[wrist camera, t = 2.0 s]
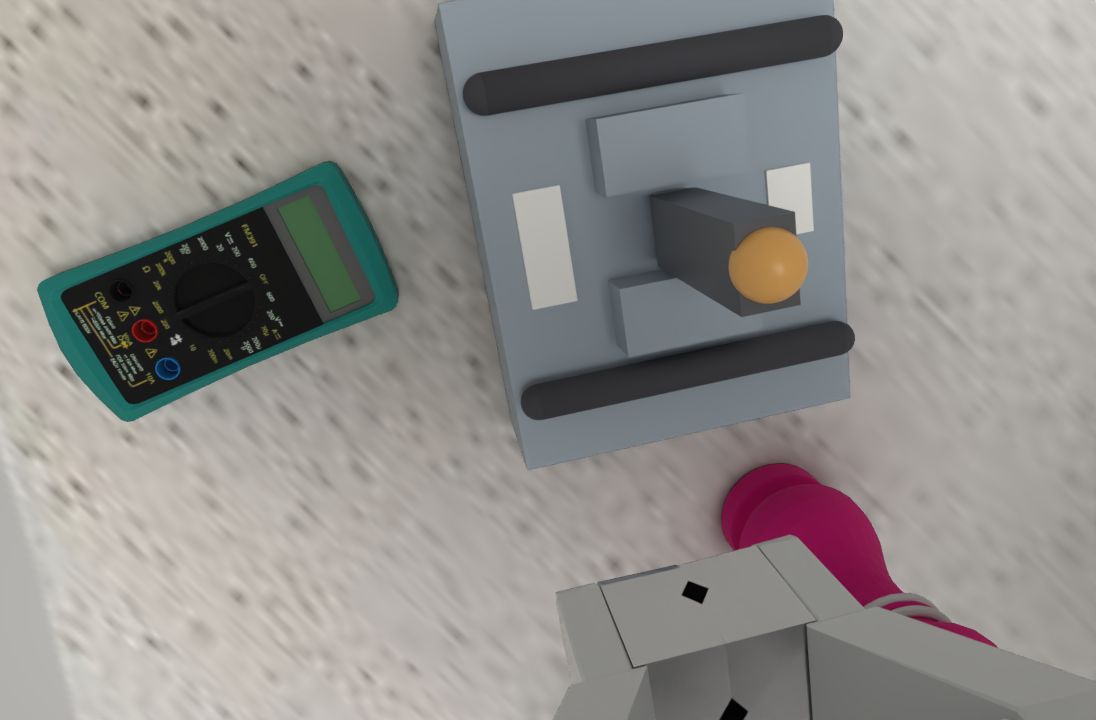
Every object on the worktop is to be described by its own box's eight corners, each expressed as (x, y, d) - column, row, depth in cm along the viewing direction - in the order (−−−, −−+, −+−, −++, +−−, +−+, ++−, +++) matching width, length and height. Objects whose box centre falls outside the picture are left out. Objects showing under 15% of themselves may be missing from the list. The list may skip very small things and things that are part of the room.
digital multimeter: (43, 279, 37) (13, 292, 34) (339, 154, 37) (333, 158, 34) (129, 412, 39) (107, 435, 36) (405, 294, 40) (405, 308, 37)
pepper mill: (688, 512, 45) (884, 793, 27) (783, 430, 45) (1053, 657, 26) (758, 586, 48) (984, 892, 29) (850, 509, 47) (1141, 769, 28)
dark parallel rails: (829, 14, 33) (849, 9, 31) (844, 346, 37) (862, 356, 36) (458, 76, 31) (460, 75, 29) (521, 416, 35) (526, 429, 34)
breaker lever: (693, 184, 33) (820, 215, 23) (700, 253, 34) (825, 312, 24) (639, 195, 33) (743, 230, 23) (647, 264, 34) (751, 328, 24)
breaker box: (767, -32, 37) (857, -70, 30) (793, 361, 44) (873, 412, 36) (434, 21, 36) (440, -4, 28) (511, 422, 42) (534, 489, 34)
